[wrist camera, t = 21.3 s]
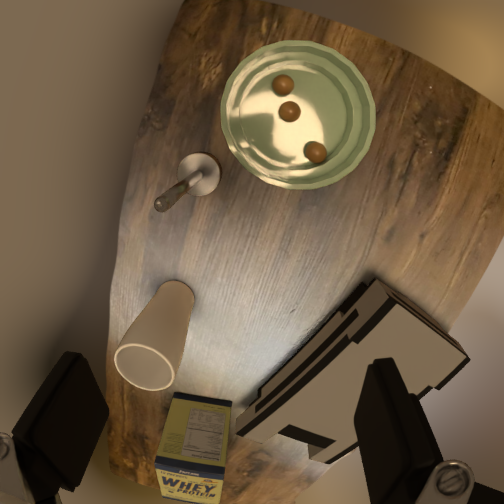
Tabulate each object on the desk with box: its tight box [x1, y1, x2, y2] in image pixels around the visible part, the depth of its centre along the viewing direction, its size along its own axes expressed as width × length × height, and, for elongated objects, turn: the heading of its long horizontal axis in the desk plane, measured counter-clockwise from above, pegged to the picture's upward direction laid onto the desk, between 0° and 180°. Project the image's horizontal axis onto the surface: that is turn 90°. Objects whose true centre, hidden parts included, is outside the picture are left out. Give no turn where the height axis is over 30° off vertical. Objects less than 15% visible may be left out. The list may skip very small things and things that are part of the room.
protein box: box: [154, 393, 232, 504], centre depth 47 cm, size 10×16×16 cm
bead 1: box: [272, 74, 294, 95], centre depth 31 cm, size 2×2×2 cm
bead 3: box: [305, 142, 327, 163], centre depth 34 cm, size 2×2×2 cm
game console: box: [235, 278, 470, 464], centre depth 44 cm, size 21×32×8 cm, turn 146°
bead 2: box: [279, 101, 301, 122], centre depth 32 cm, size 2×2×2 cm
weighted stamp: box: [154, 152, 222, 213], centre depth 29 cm, size 5×5×16 cm
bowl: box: [220, 40, 375, 190], centre depth 31 cm, size 15×15×6 cm
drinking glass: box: [114, 281, 194, 391], centre depth 36 cm, size 7×7×15 cm
